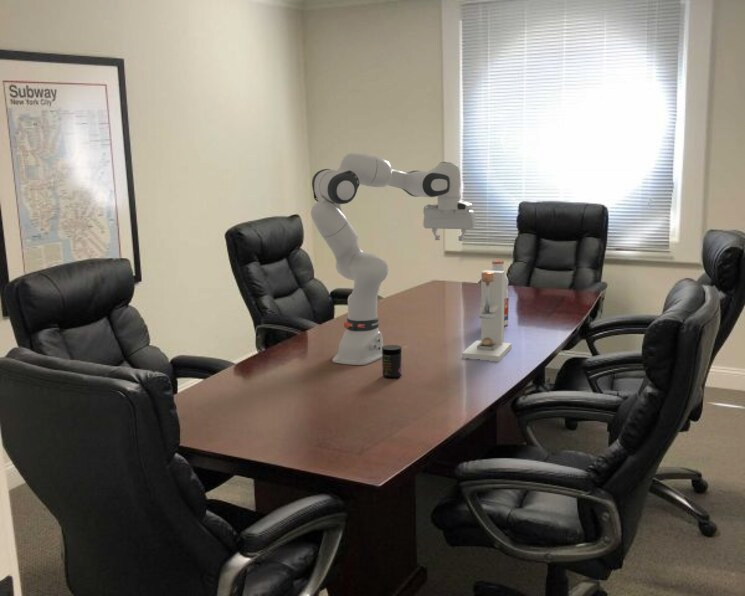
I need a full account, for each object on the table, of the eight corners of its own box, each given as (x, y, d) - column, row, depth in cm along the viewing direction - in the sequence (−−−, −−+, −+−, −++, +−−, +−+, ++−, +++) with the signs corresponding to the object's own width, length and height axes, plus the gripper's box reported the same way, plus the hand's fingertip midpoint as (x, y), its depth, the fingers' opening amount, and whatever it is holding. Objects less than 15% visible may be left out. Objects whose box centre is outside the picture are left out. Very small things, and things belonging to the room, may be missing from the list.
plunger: (493, 319, 296) (493, 274, 293) (477, 318, 298) (477, 273, 295) (497, 315, 301) (497, 272, 298) (481, 314, 304) (481, 271, 300)
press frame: (499, 361, 291) (499, 280, 285) (461, 358, 296) (461, 278, 290) (511, 348, 309) (512, 271, 303) (476, 345, 314) (476, 269, 308)
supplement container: (399, 380, 271) (398, 350, 269) (380, 378, 273) (379, 349, 271) (404, 374, 277) (403, 345, 275) (385, 373, 279) (384, 344, 277)
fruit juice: (499, 321, 355) (500, 258, 350) (512, 325, 347) (513, 261, 341) (482, 323, 351) (482, 260, 346) (494, 327, 343) (495, 263, 337)
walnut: (491, 349, 300) (491, 339, 299) (480, 348, 301) (480, 338, 300) (493, 347, 303) (493, 336, 302) (483, 346, 305) (483, 336, 304)
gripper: (420, 205, 309) (421, 240, 312) (472, 205, 301) (472, 242, 304) (426, 203, 315) (426, 238, 317) (476, 204, 307) (476, 240, 310)
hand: (449, 240), depth 310 cm, fingers open, 8 cm apart
